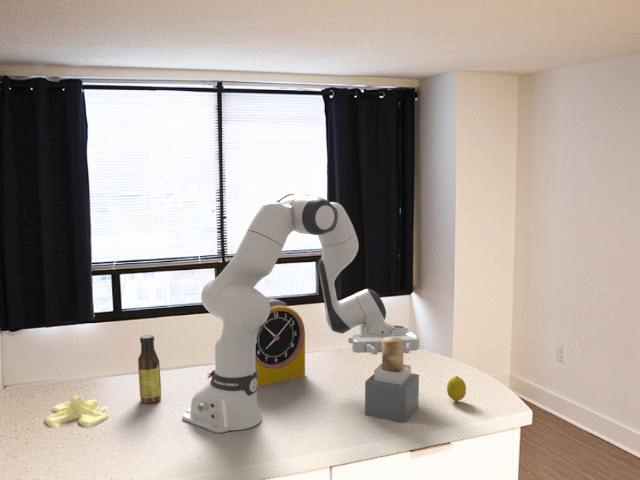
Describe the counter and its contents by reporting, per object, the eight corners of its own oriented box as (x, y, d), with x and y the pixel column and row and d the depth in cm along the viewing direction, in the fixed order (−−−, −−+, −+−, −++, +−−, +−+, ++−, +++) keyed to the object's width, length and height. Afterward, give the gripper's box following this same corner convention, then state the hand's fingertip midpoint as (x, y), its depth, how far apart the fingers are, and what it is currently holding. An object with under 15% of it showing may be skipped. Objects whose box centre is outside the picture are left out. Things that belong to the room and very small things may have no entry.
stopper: (379, 379, 176) (379, 341, 174) (386, 372, 181) (386, 336, 179) (399, 383, 173) (399, 344, 171) (405, 376, 178) (406, 338, 177)
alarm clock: (249, 388, 196) (248, 307, 192) (237, 379, 203) (236, 301, 200) (306, 375, 207) (305, 298, 203) (292, 367, 215) (291, 293, 211)
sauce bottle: (165, 400, 186) (163, 336, 183) (147, 406, 181) (144, 341, 179) (153, 394, 190) (151, 332, 188) (135, 400, 186) (132, 336, 183)
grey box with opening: (364, 414, 176) (365, 371, 174) (379, 400, 186) (380, 358, 184) (405, 423, 170) (406, 378, 169) (418, 407, 181) (419, 364, 179)
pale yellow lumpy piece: (108, 428, 168) (107, 407, 167) (35, 434, 164) (34, 412, 164) (119, 397, 190) (118, 378, 189) (54, 401, 186) (53, 382, 185)
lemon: (465, 406, 182) (466, 380, 181) (446, 404, 183) (447, 378, 182) (465, 399, 187) (466, 373, 186) (446, 397, 188) (447, 372, 187)
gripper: (347, 328, 189) (355, 341, 176) (411, 326, 192) (425, 339, 179) (346, 348, 190) (355, 363, 177) (411, 345, 193) (424, 360, 179)
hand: (391, 351), depth 178 cm, fingers open, 8 cm apart
